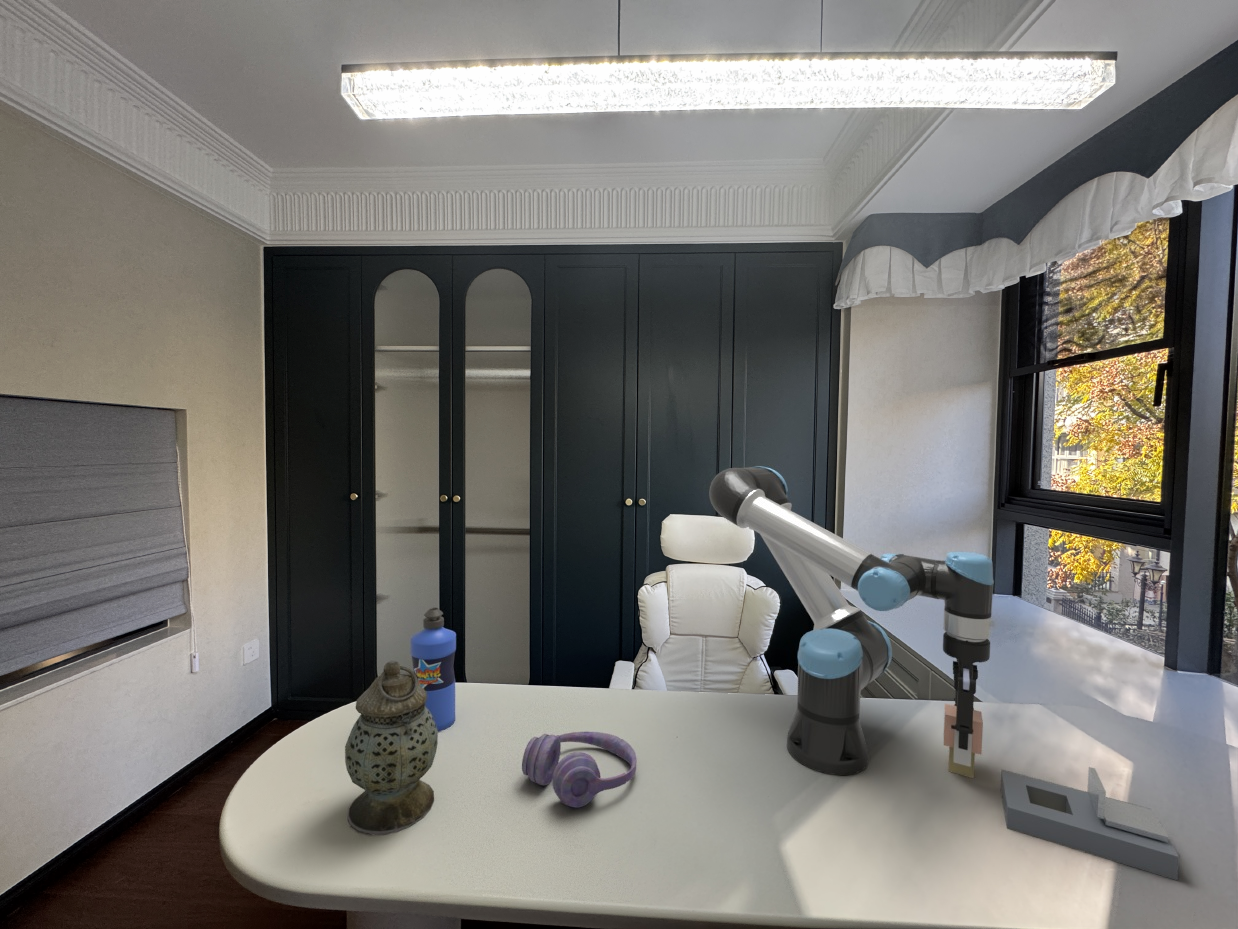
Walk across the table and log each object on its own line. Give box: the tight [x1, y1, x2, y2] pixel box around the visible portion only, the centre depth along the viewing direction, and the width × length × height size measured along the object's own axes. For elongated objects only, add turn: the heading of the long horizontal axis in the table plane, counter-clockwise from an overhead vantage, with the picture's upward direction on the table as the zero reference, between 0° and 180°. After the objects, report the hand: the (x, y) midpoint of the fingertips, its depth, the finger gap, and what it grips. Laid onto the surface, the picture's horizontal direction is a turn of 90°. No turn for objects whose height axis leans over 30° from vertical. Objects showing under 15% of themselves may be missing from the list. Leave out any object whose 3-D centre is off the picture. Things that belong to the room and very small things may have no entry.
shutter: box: [1086, 766, 1169, 842], centre depth 85 cm, size 8×7×5 cm
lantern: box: [344, 660, 439, 836], centre depth 91 cm, size 14×14×25 cm
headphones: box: [521, 731, 638, 808], centre depth 100 cm, size 18×8×20 cm
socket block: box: [999, 769, 1180, 881], centre depth 88 cm, size 20×12×4 cm, turn 59°
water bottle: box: [410, 607, 457, 733], centre depth 118 cm, size 9×9×25 cm
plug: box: [943, 703, 984, 779], centre depth 104 cm, size 6×5×11 cm
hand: (961, 754), depth 104 cm, fingers open, 6 cm apart
